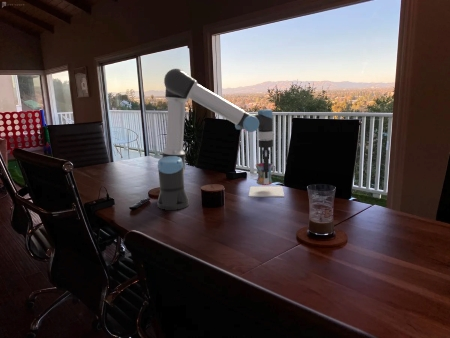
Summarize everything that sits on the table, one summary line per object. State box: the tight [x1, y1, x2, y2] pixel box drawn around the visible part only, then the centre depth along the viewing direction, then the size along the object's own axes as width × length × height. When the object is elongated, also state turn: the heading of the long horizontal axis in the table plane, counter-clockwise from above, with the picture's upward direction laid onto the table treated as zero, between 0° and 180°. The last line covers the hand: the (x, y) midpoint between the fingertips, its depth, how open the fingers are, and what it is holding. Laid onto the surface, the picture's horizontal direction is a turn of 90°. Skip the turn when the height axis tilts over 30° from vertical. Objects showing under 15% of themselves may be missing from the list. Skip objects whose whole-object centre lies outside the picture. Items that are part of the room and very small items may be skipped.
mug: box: [255, 162, 276, 186], centre depth 171 cm, size 12×9×11 cm
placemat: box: [248, 185, 285, 198], centre depth 173 cm, size 18×18×1 cm
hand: (266, 181), depth 172 cm, fingers closed on mug, 8 cm apart
